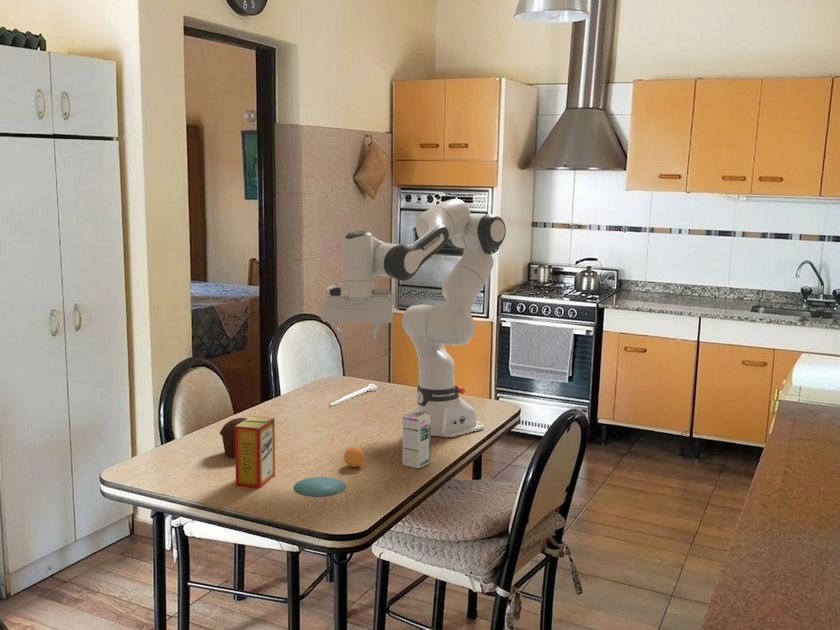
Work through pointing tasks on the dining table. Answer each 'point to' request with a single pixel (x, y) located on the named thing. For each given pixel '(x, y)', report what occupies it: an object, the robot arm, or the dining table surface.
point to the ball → (354, 457)
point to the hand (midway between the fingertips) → (356, 337)
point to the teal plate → (319, 486)
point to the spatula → (355, 394)
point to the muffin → (230, 436)
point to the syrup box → (416, 439)
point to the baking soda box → (255, 451)
